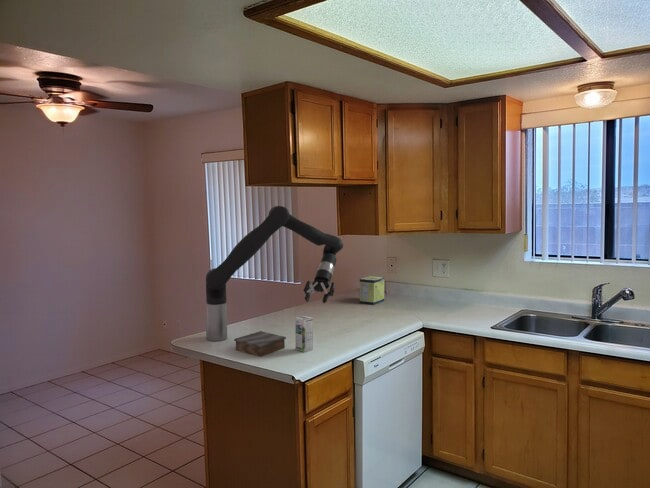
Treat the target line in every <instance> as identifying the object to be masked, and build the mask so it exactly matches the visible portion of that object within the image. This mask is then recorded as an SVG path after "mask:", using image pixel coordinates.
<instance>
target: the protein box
mask: <svg viewBox="0 0 650 488" xmlns="http://www.w3.org/2000/svg"><path fill="white" fill-rule="evenodd" d="M384 301H385V276H383V277H382V276H373V275H369V276H367V277H362V278H359V304H363V303H364V304H365V305H373V306H374V305H377V304H380V303H382V302H384ZM379 302H380V303H379Z"/></svg>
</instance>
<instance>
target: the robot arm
mask: <svg viewBox="0 0 650 488" xmlns="http://www.w3.org/2000/svg"><path fill="white" fill-rule="evenodd" d="M282 227H283V228H286V229H288V230H290V231H292V232H294V233H296V234H297V235H298V236H299V235H300V236H301V237H302V238H303V239H304V240H307V241H309V242H311V243H312V244H314V245H315V246H319V247H320V246H322V245H324V248H323V250H322V258H321V259H320V260H321V261H320V263H319V265H318V267H317V270H316V273H315V276H314V280H313V282H311V281H309V280H307V281H306V284H305V285H304V288H303V290H302V291H303V292H304V294H305V296H304V300H305V302H306V303H308V302H310V298H311V295H312V294H314V293H316V292H317V293H318V292H320V293H323V292H324V294H323V298H322V303H323V304H326V303H327V302H328V299H329V297H333V296H334V294H335V293H334V292H335V289H336V285H335V283H334V282H331V281H332V278H333V275H334V271H335V267H336V263H337V257H336V256H337V254H338V253H339V252H340V251H341V250H342V249H344V242H343V240H342V239H341V238H339V237H337V236H335V235H332V234H330V233H325V232H323V231H321V230H320V229H317V228H316V227H314V226H312V225H310V224H308V223H306V222H304V221H301V220H299V219H298V218H296V217H295V216H293V215H292V214H291V213H290V212H289V210H288V208H287V207H286V206H282V205H275V206H273V207H272V208H270V210H269V211H268V216H266V218H265V219H264V220H263V221H262V222H261V223H260V224H259V225H258V226H257V227H255V228H254V229H252V230H251V231H249V232H248V233H247V234H246V235H245V236H244V237H243V238H242V239H240V240H239V242H238V243H237V244H236V245H235V246H234V247H233V249H232V250H231V251H230V253H228V255H227V257H226V258H225V260H224V261H223V262H222V263H220V264H219V265H217V267H216V268H215V267H214V268H211V269H210V270H209V271H207V272H206V275H205V292H206V293H205V296H206V300H205V301H206V318H205V335H206V340H207V341H210V342H219V341H220V342H221V341H225V340H226V339H228V311H227V310H228V309H227V308H228V307H227V306H228V305H227V301H228V300H227V283H228V281H229V280H230V279H231V278H232V276H233V275H234V274H235V273H236V272H237V271H238V270H240V268H241V267H242V266H244V265H245V264H246V263H247V262H248V261H249V260H251V258H253V256H254V255H255V254H257V253H258V251H259V250H260V249H261V248H262V247H263V246H264V245H265V244H266V243H267V241H268V240H269V239H270V238H271V237H272V236H273V235H274V233H276V232H277V231H278V230H279V229H281V228H282ZM328 288H329V290H328Z"/></svg>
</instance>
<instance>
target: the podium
mask: <svg viewBox="0 0 650 488" xmlns="http://www.w3.org/2000/svg"><path fill="white" fill-rule="evenodd" d="M286 339H287V337H286V336H283V335H278V334H275V333H270V332H266V331H262V330H259V331H257V332H254V333H250V334H246V335H243V336H240V337H236V338H234V339H233V342H235V350H236V351H238V352H242V353H244V354H245V353H246V354H249V355H253V356H257V357H263V356H266V355H269V354H272V353H275V352H277V351H281V350H283V349H285V347H286V346H285V345H286V343H285V340H286Z"/></svg>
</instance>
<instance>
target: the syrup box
mask: <svg viewBox="0 0 650 488" xmlns="http://www.w3.org/2000/svg"><path fill="white" fill-rule="evenodd" d="M294 320H295V330H294V331H295V338H294V339H295V341H294V343H295V345H294V346H295V351H299V352H302V353H307V352H310V351H313V350H314V318H313V317H310V316H306V315H300V316H296V317H295V318H294Z"/></svg>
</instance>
